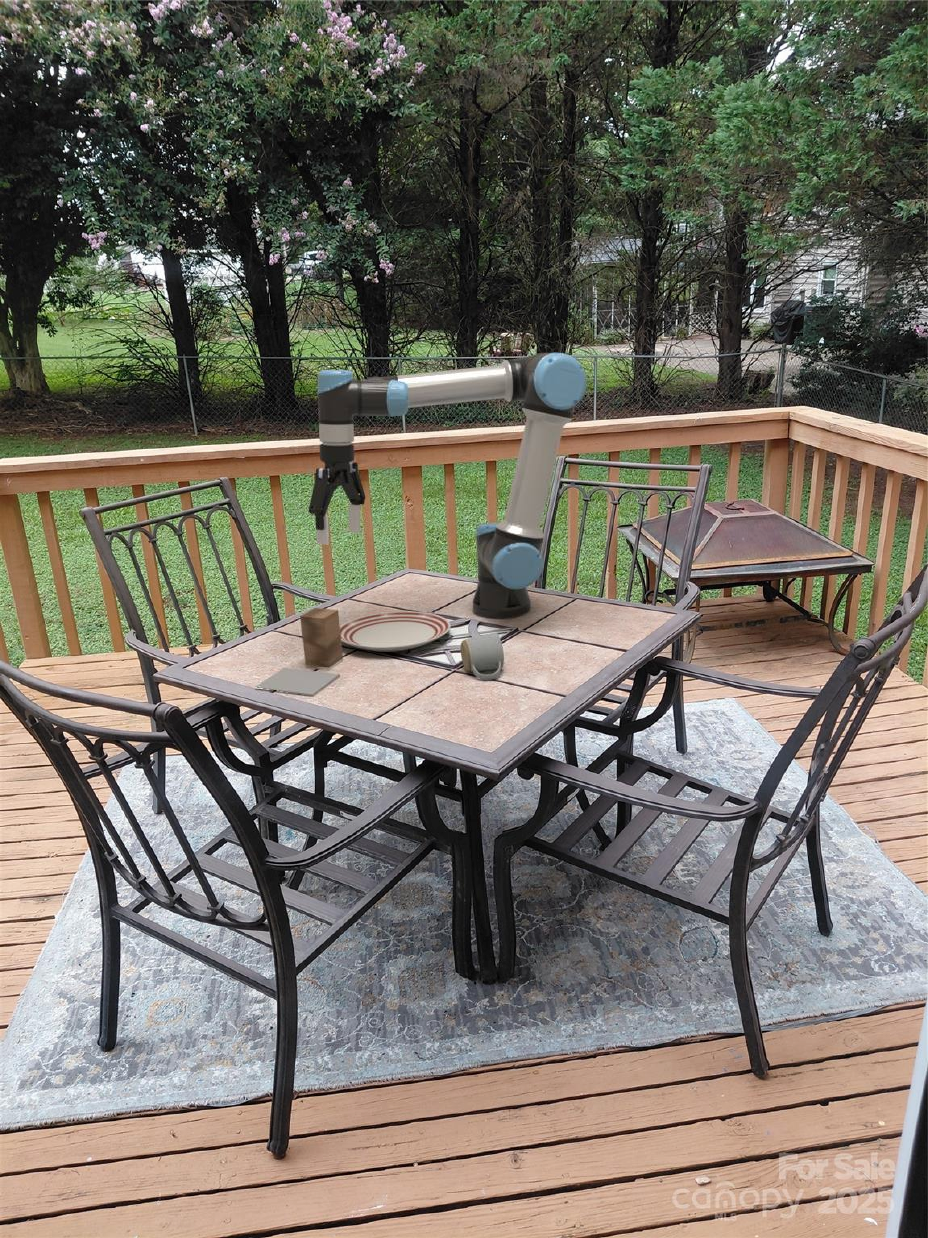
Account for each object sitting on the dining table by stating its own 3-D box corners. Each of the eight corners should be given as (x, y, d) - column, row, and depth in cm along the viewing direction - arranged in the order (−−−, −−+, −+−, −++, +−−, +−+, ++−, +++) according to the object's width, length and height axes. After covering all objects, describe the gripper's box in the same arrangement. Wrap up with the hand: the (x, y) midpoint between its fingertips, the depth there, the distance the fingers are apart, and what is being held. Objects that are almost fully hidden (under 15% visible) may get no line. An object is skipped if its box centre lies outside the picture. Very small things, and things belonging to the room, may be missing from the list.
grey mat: (339, 676, 180) (339, 674, 179) (313, 696, 170) (312, 694, 170) (284, 669, 185) (284, 667, 184) (255, 689, 175) (254, 687, 175)
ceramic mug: (459, 665, 183) (458, 632, 180) (495, 660, 184) (494, 627, 182) (472, 684, 173) (470, 649, 170) (510, 678, 175) (509, 644, 172)
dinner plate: (348, 622, 215) (347, 609, 214) (454, 619, 213) (454, 607, 212) (325, 662, 189) (324, 648, 188) (446, 659, 187) (445, 645, 186)
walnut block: (343, 660, 189) (338, 610, 185) (329, 670, 183) (324, 618, 179) (319, 658, 191) (314, 607, 187) (305, 667, 185) (300, 616, 182)
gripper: (351, 437, 196) (353, 526, 203) (289, 447, 174) (293, 547, 181) (379, 439, 193) (380, 529, 200) (320, 449, 171) (323, 550, 178)
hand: (339, 538), depth 190 cm, fingers open, 13 cm apart
